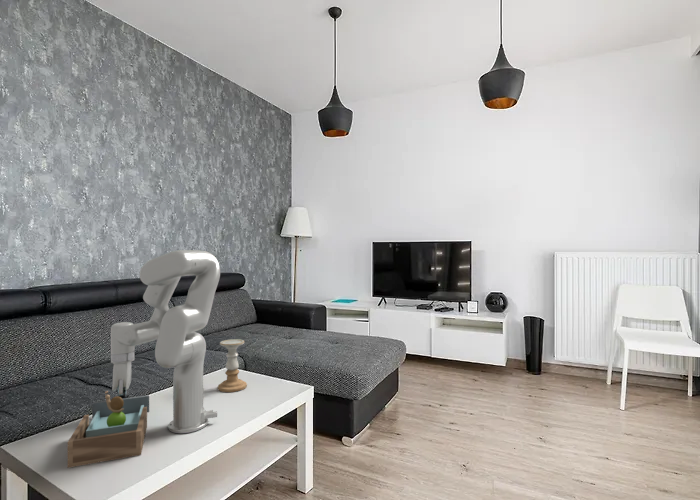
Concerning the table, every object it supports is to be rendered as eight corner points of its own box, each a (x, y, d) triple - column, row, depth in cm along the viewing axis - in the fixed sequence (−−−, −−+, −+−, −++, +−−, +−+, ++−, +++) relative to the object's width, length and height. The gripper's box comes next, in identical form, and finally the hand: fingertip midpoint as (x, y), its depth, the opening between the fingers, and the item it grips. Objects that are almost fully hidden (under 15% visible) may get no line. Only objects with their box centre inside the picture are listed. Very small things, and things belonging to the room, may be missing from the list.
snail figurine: (111, 424, 133) (111, 388, 133) (129, 425, 133) (129, 388, 133) (99, 431, 128) (99, 394, 128) (118, 432, 127) (118, 394, 127)
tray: (93, 418, 140) (93, 402, 140) (149, 411, 147) (149, 395, 147) (79, 442, 122) (79, 423, 122) (144, 432, 129) (144, 414, 129)
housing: (84, 436, 129) (84, 415, 129) (147, 427, 136) (147, 406, 136) (67, 467, 110) (67, 442, 110) (140, 454, 117) (140, 430, 117)
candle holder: (238, 381, 184) (238, 337, 184) (252, 388, 175) (251, 341, 175) (212, 387, 176) (212, 341, 176) (225, 394, 167) (225, 346, 167)
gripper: (114, 353, 151) (114, 401, 151) (107, 363, 137) (107, 416, 137) (137, 351, 154) (137, 399, 154) (131, 360, 140) (132, 413, 140)
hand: (123, 407), depth 146 cm, fingers closed
